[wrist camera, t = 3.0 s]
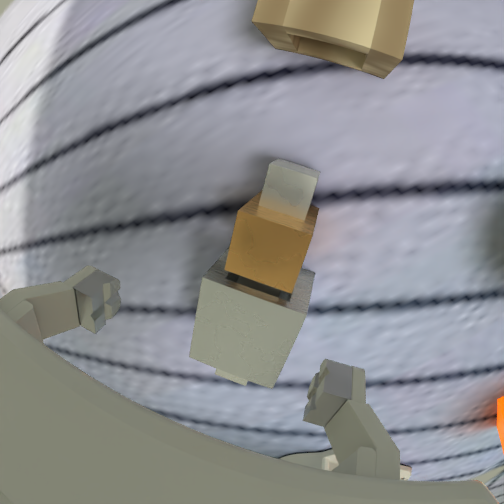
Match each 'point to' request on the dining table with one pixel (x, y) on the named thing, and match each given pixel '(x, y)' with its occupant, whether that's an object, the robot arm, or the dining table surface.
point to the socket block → (339, 30)
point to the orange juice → (500, 419)
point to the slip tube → (274, 233)
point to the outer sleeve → (247, 324)
